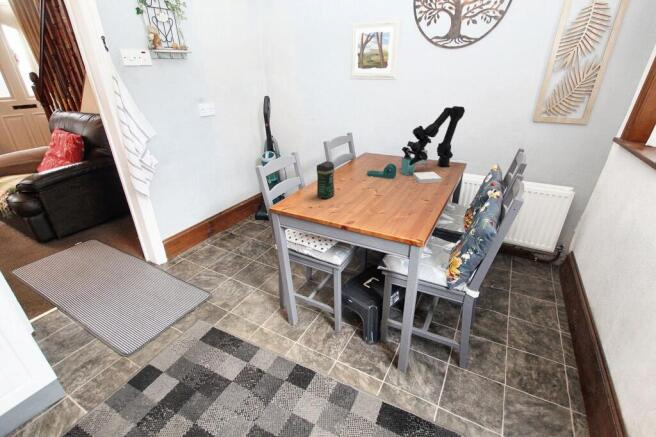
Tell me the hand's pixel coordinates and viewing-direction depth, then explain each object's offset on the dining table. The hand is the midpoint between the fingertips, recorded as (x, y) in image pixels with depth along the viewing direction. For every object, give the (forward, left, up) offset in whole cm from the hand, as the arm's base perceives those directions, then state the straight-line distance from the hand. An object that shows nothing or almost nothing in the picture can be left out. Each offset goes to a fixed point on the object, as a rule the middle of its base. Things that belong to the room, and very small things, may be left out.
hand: (406, 163), depth 192 cm
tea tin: (-1, -1, -7) cm, 7 cm away
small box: (-17, -23, -7) cm, 29 cm away
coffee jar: (+54, +32, -7) cm, 63 cm away
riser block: (-9, +12, -7) cm, 17 cm away
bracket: (+17, +2, -7) cm, 18 cm away
